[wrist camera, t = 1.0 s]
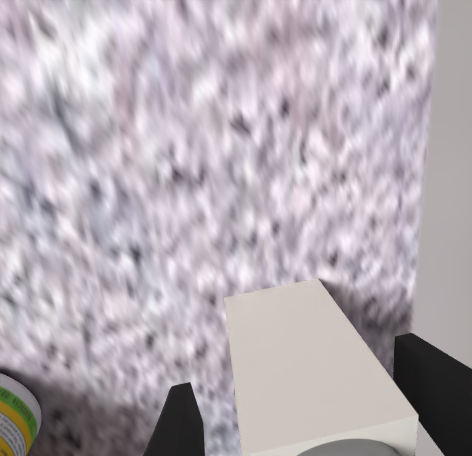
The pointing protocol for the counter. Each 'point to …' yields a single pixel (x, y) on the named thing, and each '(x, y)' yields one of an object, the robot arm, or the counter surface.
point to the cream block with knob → (311, 379)
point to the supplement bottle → (17, 418)
